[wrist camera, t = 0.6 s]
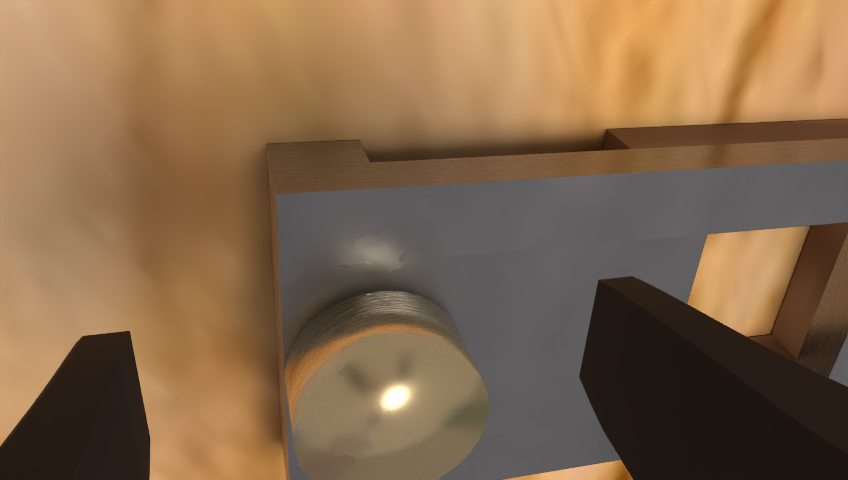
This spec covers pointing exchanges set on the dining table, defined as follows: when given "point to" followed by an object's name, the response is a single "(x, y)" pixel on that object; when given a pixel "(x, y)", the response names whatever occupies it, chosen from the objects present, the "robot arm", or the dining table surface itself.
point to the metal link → (500, 291)
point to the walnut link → (821, 238)
